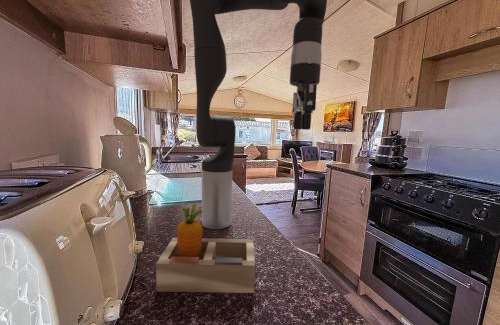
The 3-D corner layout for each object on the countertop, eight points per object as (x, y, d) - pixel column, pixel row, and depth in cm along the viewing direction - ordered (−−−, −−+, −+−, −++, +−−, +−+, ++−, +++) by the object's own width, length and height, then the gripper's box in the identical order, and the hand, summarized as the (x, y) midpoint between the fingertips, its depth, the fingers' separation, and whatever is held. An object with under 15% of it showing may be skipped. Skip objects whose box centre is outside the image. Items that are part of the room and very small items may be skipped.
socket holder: (173, 260, 50) (172, 235, 50) (252, 262, 51) (253, 237, 50) (156, 291, 41) (155, 261, 40) (253, 292, 41) (255, 262, 41)
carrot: (192, 264, 49) (192, 198, 47) (207, 273, 46) (208, 204, 44) (172, 274, 46) (171, 204, 43) (186, 286, 42) (186, 210, 40)
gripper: (285, 71, 64) (282, 128, 67) (297, 55, 50) (292, 129, 53) (311, 72, 64) (307, 129, 67) (330, 57, 50) (324, 130, 53)
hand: (301, 129), depth 60 cm, fingers open, 8 cm apart
